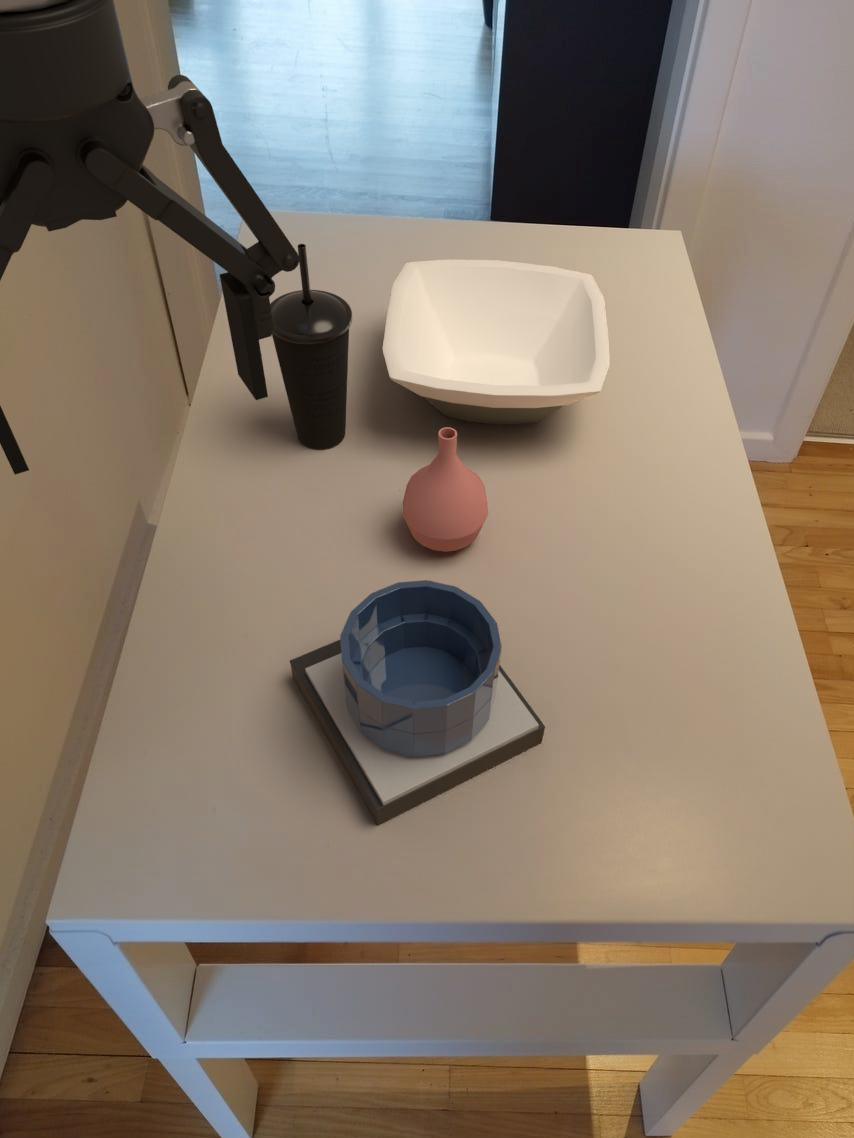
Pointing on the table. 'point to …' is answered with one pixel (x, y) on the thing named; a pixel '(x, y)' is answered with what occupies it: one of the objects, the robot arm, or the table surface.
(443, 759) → the scale
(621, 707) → the table surface
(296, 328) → the drinking cup
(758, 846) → the table surface
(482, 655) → the blue bowl
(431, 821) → the table surface
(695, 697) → the table surface
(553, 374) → the bowl
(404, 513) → the pink bud vase
